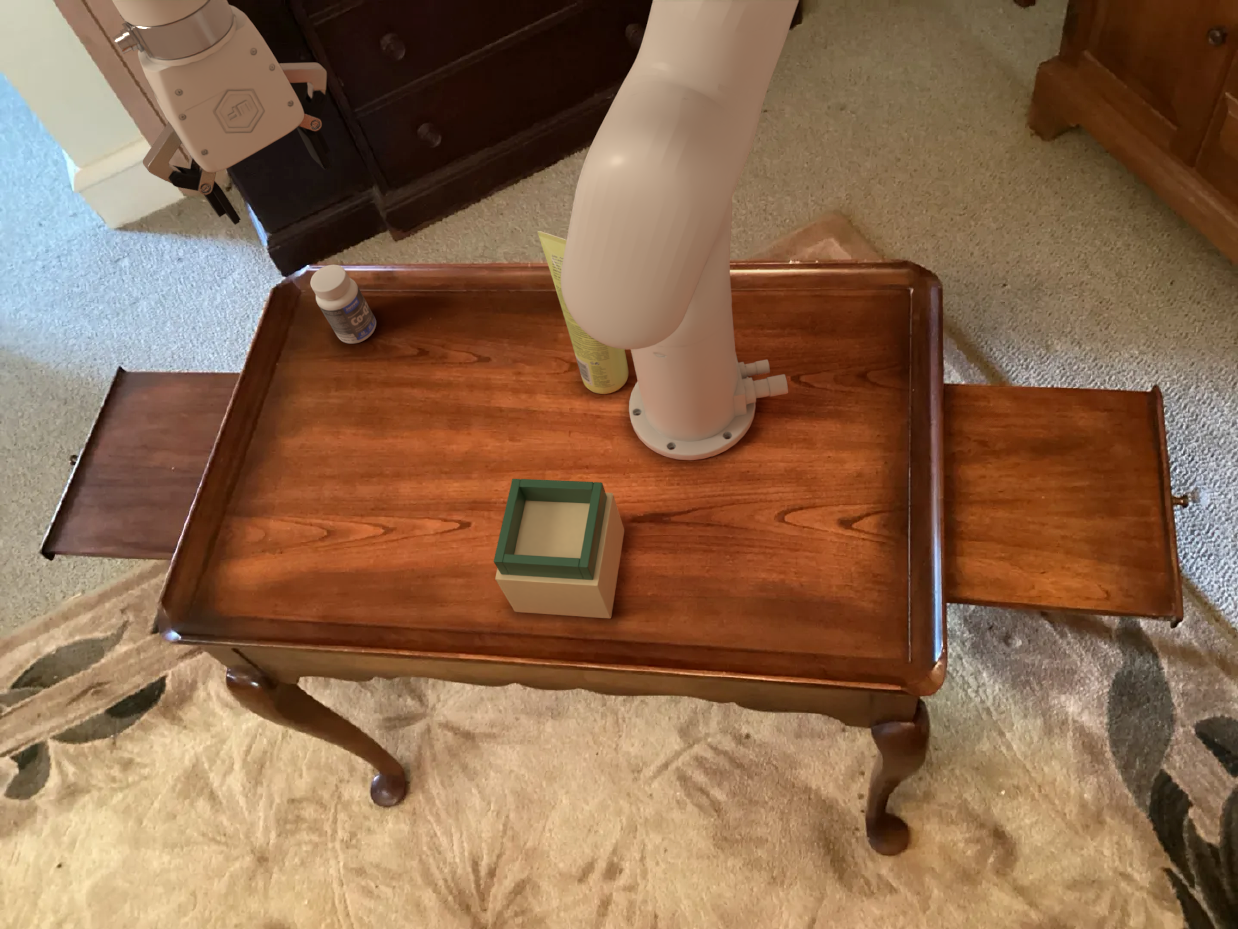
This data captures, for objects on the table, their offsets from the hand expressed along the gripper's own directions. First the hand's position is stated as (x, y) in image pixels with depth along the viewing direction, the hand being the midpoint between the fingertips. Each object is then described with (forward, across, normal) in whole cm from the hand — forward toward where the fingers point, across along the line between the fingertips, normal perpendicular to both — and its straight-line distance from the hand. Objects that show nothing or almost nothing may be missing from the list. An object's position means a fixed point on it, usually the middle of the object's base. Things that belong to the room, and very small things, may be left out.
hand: (277, 188), depth 89 cm
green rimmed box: (+22, +1, -38) cm, 44 cm away
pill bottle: (+23, 0, +3) cm, 23 cm away
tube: (+23, +17, -23) cm, 37 cm away
